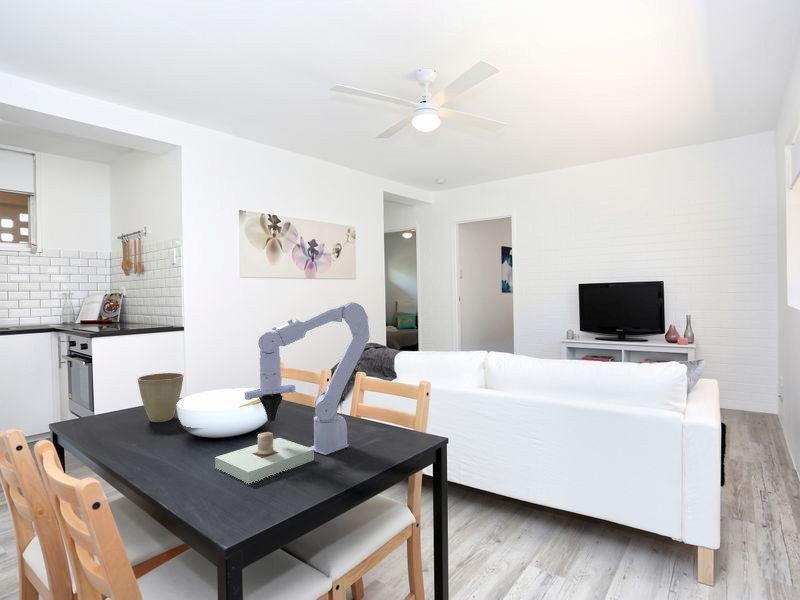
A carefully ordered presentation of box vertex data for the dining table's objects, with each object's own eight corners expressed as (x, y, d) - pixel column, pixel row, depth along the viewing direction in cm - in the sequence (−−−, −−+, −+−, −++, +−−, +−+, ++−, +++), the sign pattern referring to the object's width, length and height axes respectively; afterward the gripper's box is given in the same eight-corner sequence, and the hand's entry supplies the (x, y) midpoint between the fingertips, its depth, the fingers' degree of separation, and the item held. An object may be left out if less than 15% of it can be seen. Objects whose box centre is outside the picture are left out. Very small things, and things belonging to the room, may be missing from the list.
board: (279, 447, 135) (279, 437, 135) (314, 460, 125) (313, 449, 125) (215, 468, 120) (215, 457, 120) (248, 484, 110) (248, 472, 109)
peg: (267, 459, 125) (267, 431, 124) (276, 463, 123) (276, 434, 122) (254, 464, 122) (254, 435, 121) (263, 468, 119) (263, 439, 119)
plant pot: (144, 428, 156) (143, 382, 156) (134, 419, 167) (133, 376, 167) (190, 419, 166) (189, 376, 166) (177, 411, 177) (176, 371, 177)
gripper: (251, 378, 123) (252, 428, 123) (299, 372, 132) (300, 418, 132) (241, 375, 128) (242, 423, 128) (288, 369, 137) (289, 413, 138)
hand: (271, 420), depth 131 cm, fingers closed
